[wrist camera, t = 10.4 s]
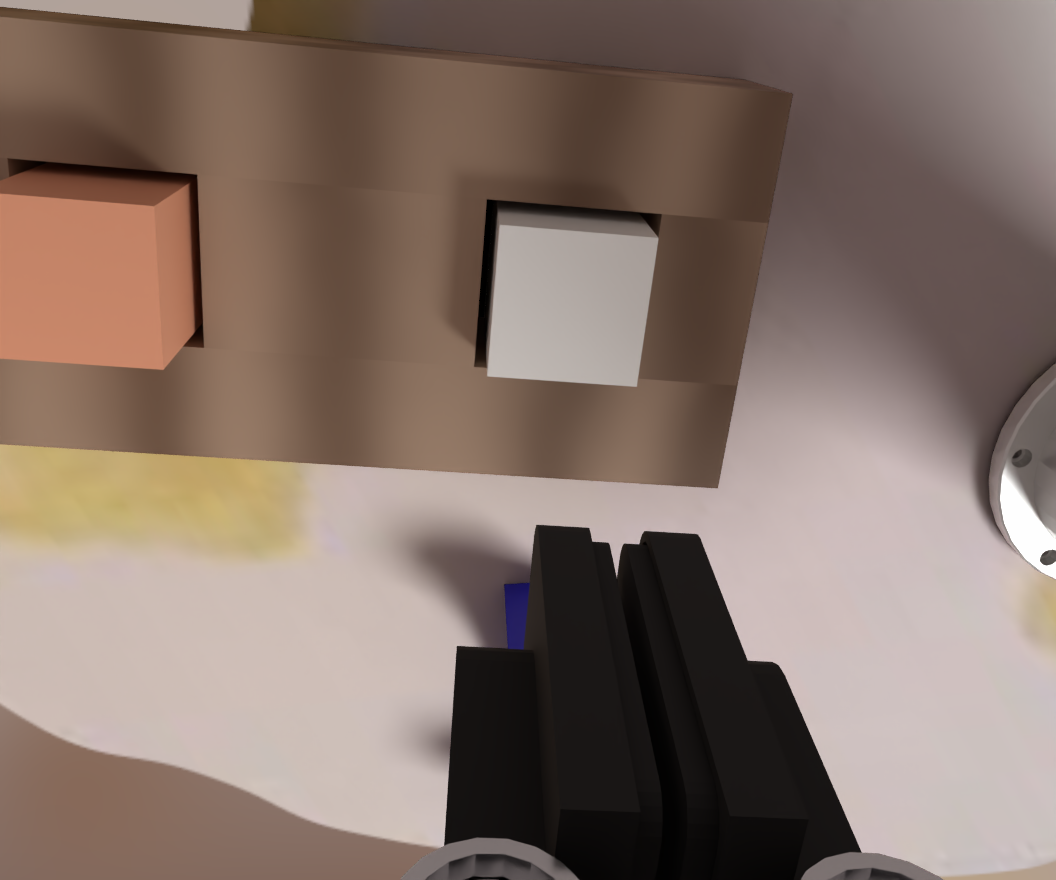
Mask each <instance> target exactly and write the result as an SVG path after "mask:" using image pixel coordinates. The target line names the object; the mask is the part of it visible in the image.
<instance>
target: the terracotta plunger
mask: <svg viewBox="0 0 1056 880" xmlns="http://www.w3.org/2000/svg"><path fill="white" fill-rule="evenodd" d="M202 323H203V307H202V281H201V256H200V230H199V205H198V179H197V174H187V173H175V172H163V171H151V170H140V169H128V168H116V167H105V166H93V165H81V164H69V163H58V162H48V163H45V164H42V165H40V166H37V167H35V168H32V169H29V170H27V171H24V172H22V173H19V174H16V175H14V176H11V177H9V178H6V179H3V180H1V181H0V359H13V360H27V361H42V362H57V363H71V364H86V365H100V366H115V367H129V368H144V369H159V370H164V369H165V367H166V366H167V365H168V364H169V363H170V361H171V360H172V359H173V358H174V357H175V355H176V354H177V353H178V352H179V351H180V349H181V348H182V347H183V346H184V344H185V343H186V342H187V341H188V340H189V338H190V337H191V336H192V335H193V334H194V332H195V331H196V330H197V329H198V328H199V326H200V325H201V324H202Z"/></svg>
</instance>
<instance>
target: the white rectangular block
mask: <svg viewBox="0 0 1056 880" xmlns="http://www.w3.org/2000/svg"><path fill="white" fill-rule="evenodd" d="M658 239H659V238H658V237H657V235H656V234H655V233H654V232H653V230H652V229H651V228H650V226H649V225H648V224H647V223H646V221H645V220H644V219H643V218H642V216H641V215H640V214H639V213H638V212H632V211H620V210H608V209H596V208H585V207H573V206H561V205H550V204H538V203H526V202H514V201H503V200H493V208H492V220H491V233H490V246H489V259H488V271H487V284H486V297H485V309H484V314H485V337H486V360H487V376H489V377H503V378H517V379H531V380H546V381H560V382H574V383H589V384H603V385H617V386H631V387H637V381H638V375H639V368H640V361H641V354H642V347H643V341H644V334H645V327H646V320H647V313H648V307H649V300H650V293H651V286H652V280H653V273H654V266H655V259H656V252H657V246H658Z"/></svg>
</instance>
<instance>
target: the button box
mask: <svg viewBox="0 0 1056 880" xmlns="http://www.w3.org/2000/svg"><path fill="white" fill-rule="evenodd" d="M792 96H793V94H792V93H789V92H785V91H782V90H778V89H775V88H771V87H768V86H765V85H761V84H758V83H754V82H751V81H747V80H742V79H731V78H721V77H711V76H701V75H691V74H680V73H670V72H660V71H650V70H640V69H629V68H619V67H609V66H599V65H589V64H578V63H568V62H558V61H548V60H537V59H527V58H517V57H507V56H497V55H486V54H476V53H466V52H456V51H446V50H435V49H425V48H415V47H405V46H395V45H384V44H374V43H364V42H354V41H344V40H333V39H323V38H313V37H303V36H292V35H282V34H272V33H262V32H252V31H241V30H231V29H220V28H211V27H201V26H190V25H180V24H170V23H160V22H149V21H139V20H129V19H119V18H109V17H99V16H87V15H78V14H67V13H58V12H48V11H37V10H27V9H17V8H6V7H0V181H1V180H3V179H6V178H9V177H11V176H14V175H16V174H19V173H22V172H24V171H27V170H29V169H32V168H35V167H37V166H40V165H42V164H45V163H48V162H58V163H69V164H81V165H93V166H105V167H116V168H128V169H140V170H151V171H163V172H175V173H187V174H197V179H198V205H199V230H200V256H201V281H202V307H203V323H202V324H201V325H200V326H199V328H198V329H197V330H196V331H195V332H194V334H193V335H192V336H191V337H190V338H189V340H188V341H187V342H186V343H185V344H184V346H183V347H182V348H181V349H180V351H179V352H178V353H177V354H176V355H175V357H174V358H173V359H172V360H171V361H170V363H169V364H168V365H167V366H166V367H165V369H164V370H159V369H144V368H129V367H115V366H100V365H86V364H71V363H57V362H42V361H27V360H13V359H0V444H5V445H22V446H38V447H54V448H71V449H87V450H103V451H119V452H136V453H152V454H168V455H184V456H201V457H217V458H233V459H250V460H266V461H282V462H298V463H315V464H331V465H347V466H363V467H380V468H396V469H412V470H429V471H445V472H461V473H477V474H494V475H510V476H526V477H542V478H559V479H575V480H591V481H607V482H624V483H640V484H656V485H673V486H689V487H705V488H718V484H719V479H720V474H721V469H722V463H723V458H724V453H725V448H726V442H727V437H728V432H729V427H730V421H731V416H732V411H733V406H734V400H735V395H736V390H737V385H738V379H739V374H740V369H741V364H742V358H743V353H744V348H745V343H746V337H747V332H748V327H749V322H750V316H751V311H752V306H753V301H754V295H755V290H756V285H757V280H758V275H759V269H760V264H761V259H762V254H763V248H764V243H765V238H766V233H767V227H768V222H769V217H770V212H771V206H772V201H773V196H774V191H775V185H776V180H777V175H778V170H779V164H780V159H781V154H782V149H783V143H784V138H785V133H786V128H787V122H788V117H789V112H790V107H791V101H792ZM487 199H491V200H503V201H514V202H526V203H538V204H550V205H561V206H573V207H585V208H596V209H608V210H620V211H632V212H638V213H639V214H640V215H641V216H642V218H643V219H644V220H645V221H646V223H647V224H648V225H649V226H650V228H651V229H652V230H653V232H654V233H655V234H656V235H657V237H658V238H659V239H658V246H657V252H656V259H655V266H654V273H653V280H652V286H651V293H650V300H649V307H648V313H647V320H646V327H645V334H644V341H643V347H642V354H641V361H640V368H639V375H638V381H637V387H631V386H617V385H603V384H589V383H574V382H560V381H546V380H531V379H517V378H503V377H489V376H487V360H486V337H485V318H483V317H478V308H479V295H480V282H481V269H482V256H483V243H484V230H485V217H486V203H487Z"/></svg>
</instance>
